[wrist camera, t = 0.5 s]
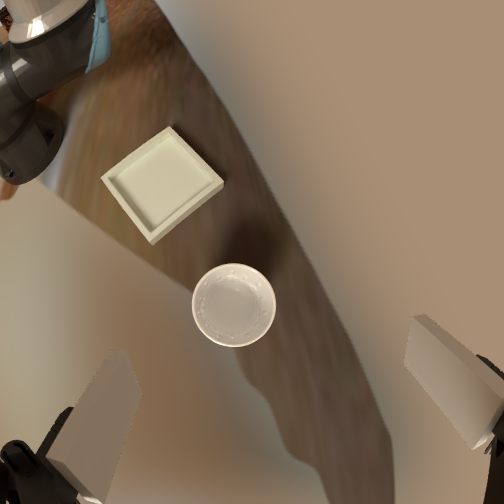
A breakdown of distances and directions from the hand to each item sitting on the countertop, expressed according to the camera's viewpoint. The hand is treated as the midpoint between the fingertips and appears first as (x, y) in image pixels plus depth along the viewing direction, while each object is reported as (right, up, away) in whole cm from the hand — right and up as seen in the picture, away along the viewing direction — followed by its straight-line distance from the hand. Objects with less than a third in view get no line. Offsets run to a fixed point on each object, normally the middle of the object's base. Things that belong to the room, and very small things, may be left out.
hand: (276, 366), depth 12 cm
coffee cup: (-81, +80, +32) cm, 118 cm away
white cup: (-4, -2, +25) cm, 25 cm away
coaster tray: (-14, +14, +27) cm, 33 cm away
